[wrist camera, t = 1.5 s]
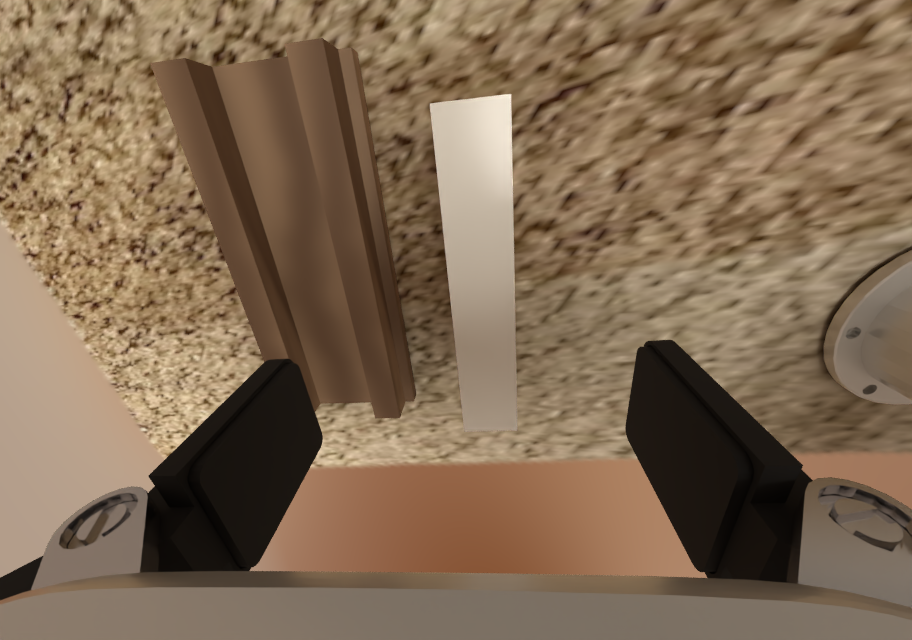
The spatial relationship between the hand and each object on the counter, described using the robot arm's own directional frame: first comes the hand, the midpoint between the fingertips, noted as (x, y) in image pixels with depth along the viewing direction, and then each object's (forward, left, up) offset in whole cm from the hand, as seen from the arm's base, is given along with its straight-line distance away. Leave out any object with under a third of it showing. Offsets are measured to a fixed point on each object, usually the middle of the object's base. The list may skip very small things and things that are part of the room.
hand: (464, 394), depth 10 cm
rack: (+12, 0, -16) cm, 20 cm away
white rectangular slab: (0, 0, -16) cm, 16 cm away
